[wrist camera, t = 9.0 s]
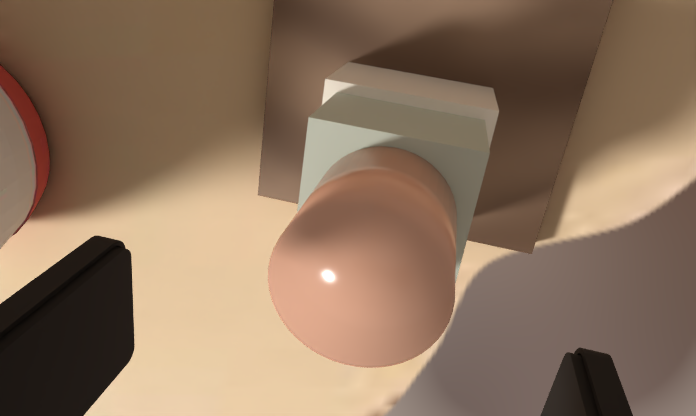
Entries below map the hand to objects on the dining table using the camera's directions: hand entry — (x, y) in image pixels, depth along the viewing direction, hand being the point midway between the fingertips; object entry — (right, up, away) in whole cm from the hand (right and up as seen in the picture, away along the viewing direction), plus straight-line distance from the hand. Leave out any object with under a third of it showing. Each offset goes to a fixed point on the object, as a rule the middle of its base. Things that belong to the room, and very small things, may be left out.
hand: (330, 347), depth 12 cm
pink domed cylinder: (+2, +3, +7) cm, 8 cm away
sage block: (+2, +4, +12) cm, 13 cm away
